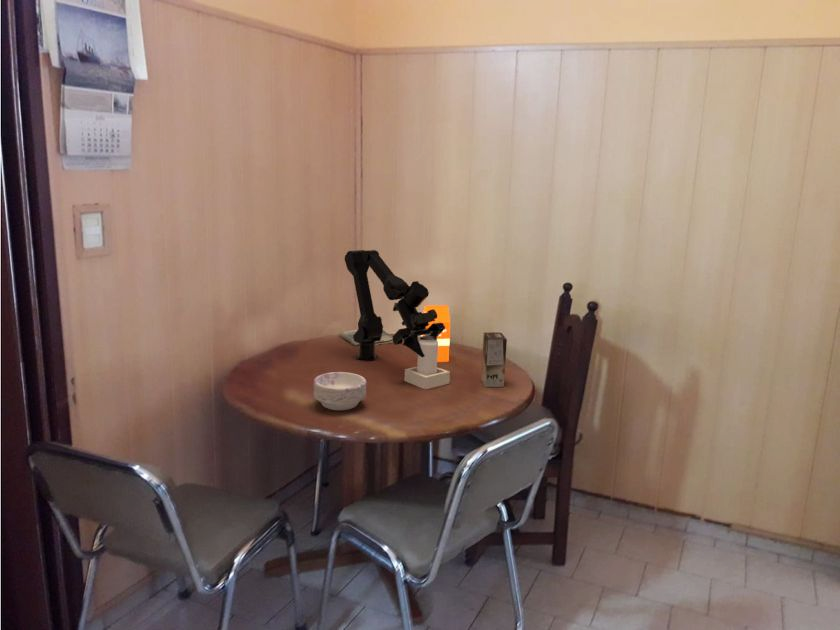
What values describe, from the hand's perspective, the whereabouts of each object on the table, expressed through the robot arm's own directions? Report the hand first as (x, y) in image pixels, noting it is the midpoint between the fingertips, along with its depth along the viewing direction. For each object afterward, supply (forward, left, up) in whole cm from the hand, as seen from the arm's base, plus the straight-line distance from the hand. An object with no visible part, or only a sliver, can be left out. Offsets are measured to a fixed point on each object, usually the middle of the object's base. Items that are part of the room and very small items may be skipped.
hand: (430, 355), depth 221 cm
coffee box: (-6, +20, -10) cm, 23 cm away
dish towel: (-48, -31, -10) cm, 58 cm away
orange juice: (-28, -2, -10) cm, 29 cm away
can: (-1, -1, -7) cm, 7 cm away
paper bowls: (+26, -23, -10) cm, 36 cm away
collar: (-1, -1, -9) cm, 9 cm away
